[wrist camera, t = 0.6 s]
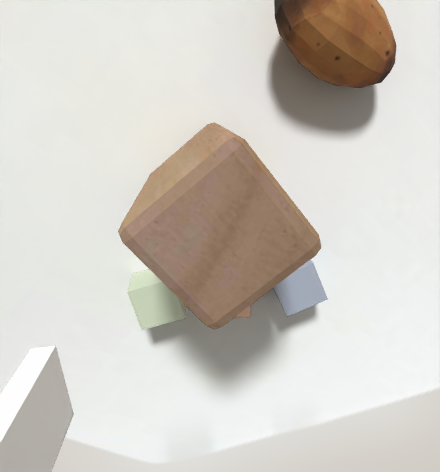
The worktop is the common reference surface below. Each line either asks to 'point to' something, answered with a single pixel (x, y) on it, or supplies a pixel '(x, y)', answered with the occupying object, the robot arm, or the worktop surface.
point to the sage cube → (153, 300)
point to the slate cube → (300, 289)
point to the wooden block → (217, 226)
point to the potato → (338, 39)
